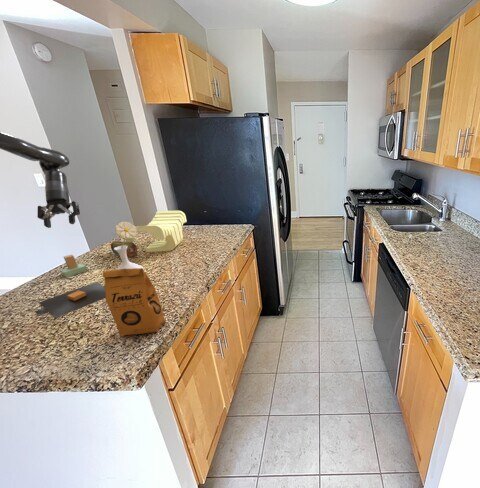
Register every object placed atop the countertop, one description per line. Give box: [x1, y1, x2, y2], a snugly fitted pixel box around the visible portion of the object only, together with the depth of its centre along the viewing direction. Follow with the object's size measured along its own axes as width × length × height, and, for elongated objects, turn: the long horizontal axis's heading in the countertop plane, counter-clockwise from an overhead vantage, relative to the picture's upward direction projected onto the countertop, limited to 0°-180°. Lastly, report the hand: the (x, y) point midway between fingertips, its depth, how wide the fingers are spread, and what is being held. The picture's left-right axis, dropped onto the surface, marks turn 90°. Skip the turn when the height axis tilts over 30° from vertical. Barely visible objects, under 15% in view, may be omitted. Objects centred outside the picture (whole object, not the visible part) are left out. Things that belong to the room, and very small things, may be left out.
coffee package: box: [102, 268, 166, 337], centre depth 82 cm, size 10×12×22 cm
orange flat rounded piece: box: [67, 290, 86, 301], centre depth 101 cm, size 4×4×2 cm
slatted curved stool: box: [134, 209, 187, 253], centre depth 148 cm, size 30×16×18 cm, turn 6°
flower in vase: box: [112, 221, 144, 270], centre depth 116 cm, size 13×11×25 cm
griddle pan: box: [34, 281, 106, 319], centre depth 101 cm, size 23×18×1 cm
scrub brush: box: [59, 254, 88, 278], centre depth 121 cm, size 8×5×8 cm, turn 149°
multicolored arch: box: [110, 239, 138, 258], centre depth 138 cm, size 15×3×8 cm, turn 76°
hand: (60, 225), depth 116 cm, fingers open, 8 cm apart
